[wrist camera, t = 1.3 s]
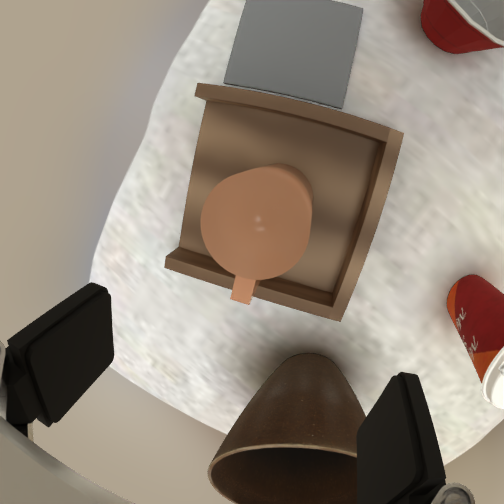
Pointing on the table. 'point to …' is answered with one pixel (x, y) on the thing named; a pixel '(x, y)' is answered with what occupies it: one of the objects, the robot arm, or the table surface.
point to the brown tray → (318, 174)
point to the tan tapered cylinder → (258, 224)
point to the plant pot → (293, 439)
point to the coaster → (296, 48)
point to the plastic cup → (464, 24)
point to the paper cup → (481, 331)
